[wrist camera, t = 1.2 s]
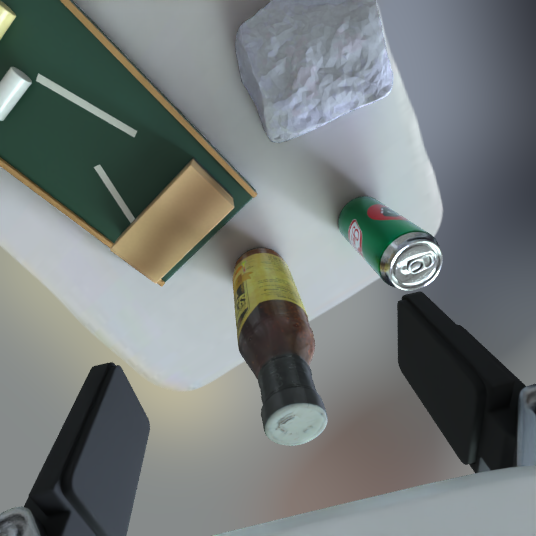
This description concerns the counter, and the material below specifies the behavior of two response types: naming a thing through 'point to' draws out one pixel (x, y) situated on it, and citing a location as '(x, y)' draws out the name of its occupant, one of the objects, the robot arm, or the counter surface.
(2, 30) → the chalk stick
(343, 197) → the counter surface
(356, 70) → the stone block
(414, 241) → the soda can
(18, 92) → the chalk stick
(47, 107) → the chalkboard
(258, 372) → the sauce bottle
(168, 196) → the eraser
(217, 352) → the counter surface
